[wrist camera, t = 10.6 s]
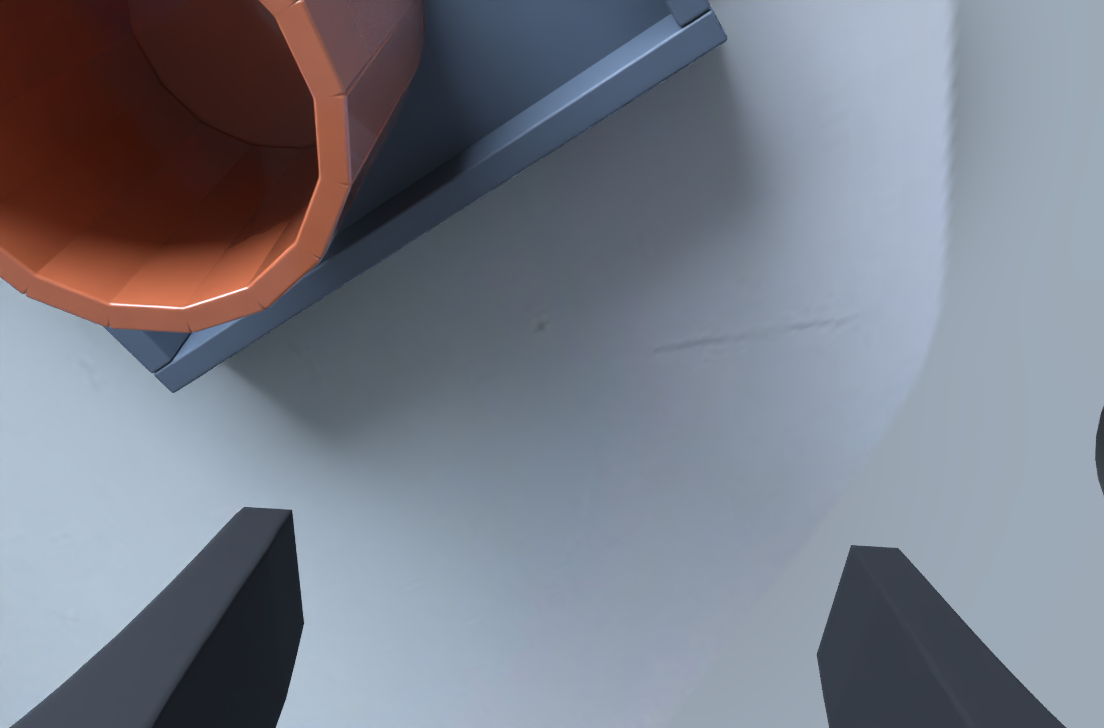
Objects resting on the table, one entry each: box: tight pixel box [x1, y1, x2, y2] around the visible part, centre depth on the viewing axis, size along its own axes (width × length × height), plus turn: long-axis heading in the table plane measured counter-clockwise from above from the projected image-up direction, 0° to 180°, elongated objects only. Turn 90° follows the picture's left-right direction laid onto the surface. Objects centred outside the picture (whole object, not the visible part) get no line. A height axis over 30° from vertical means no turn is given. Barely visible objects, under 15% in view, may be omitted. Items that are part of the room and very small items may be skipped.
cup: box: [0, 0, 425, 333], centre depth 14 cm, size 6×6×7 cm
